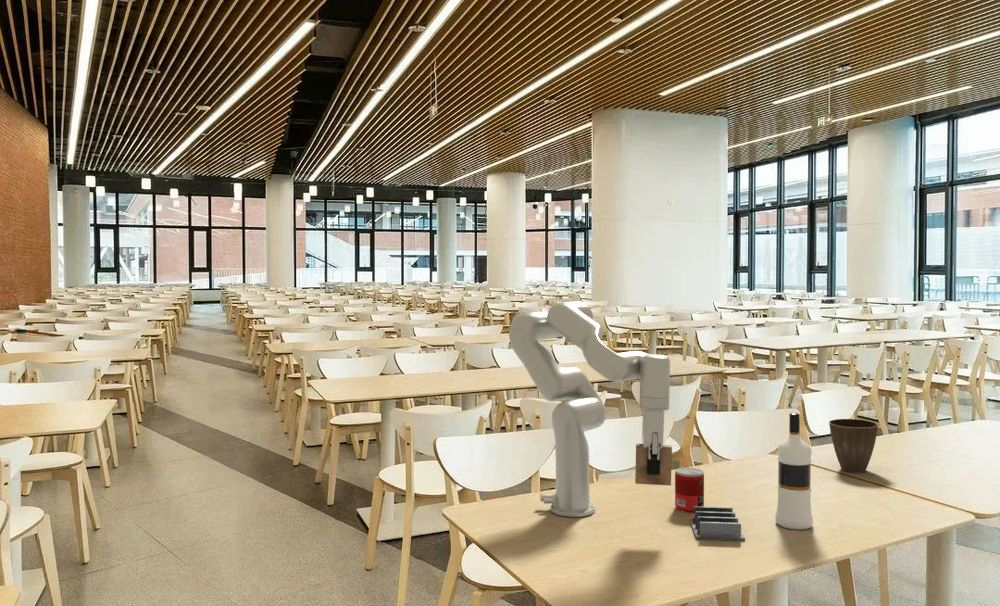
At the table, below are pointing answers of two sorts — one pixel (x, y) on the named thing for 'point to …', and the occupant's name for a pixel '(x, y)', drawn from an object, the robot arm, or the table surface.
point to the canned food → (689, 489)
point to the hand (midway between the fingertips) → (652, 472)
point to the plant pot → (853, 442)
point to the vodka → (794, 480)
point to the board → (665, 466)
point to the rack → (716, 524)
